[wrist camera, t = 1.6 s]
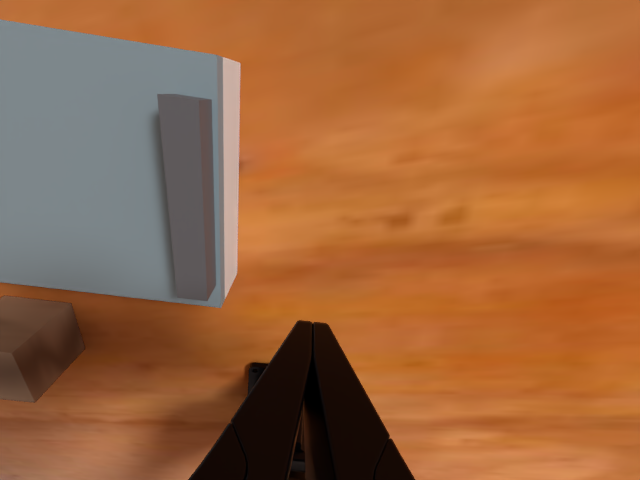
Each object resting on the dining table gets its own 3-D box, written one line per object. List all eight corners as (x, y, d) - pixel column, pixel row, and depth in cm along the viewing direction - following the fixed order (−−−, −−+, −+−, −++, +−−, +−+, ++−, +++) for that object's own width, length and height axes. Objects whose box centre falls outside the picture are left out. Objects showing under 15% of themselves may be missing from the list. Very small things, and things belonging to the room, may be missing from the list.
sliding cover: (224, 299, 19) (212, 325, 17) (-20, 270, 18) (-64, 293, 16) (222, 56, 13) (203, 50, 11) (-147, -4, 12) (-244, -23, 10)
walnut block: (85, 347, 25) (35, 402, 21) (25, 341, 25) (-40, 395, 21) (72, 302, 23) (11, 353, 19) (5, 294, 23) (-72, 344, 18)
